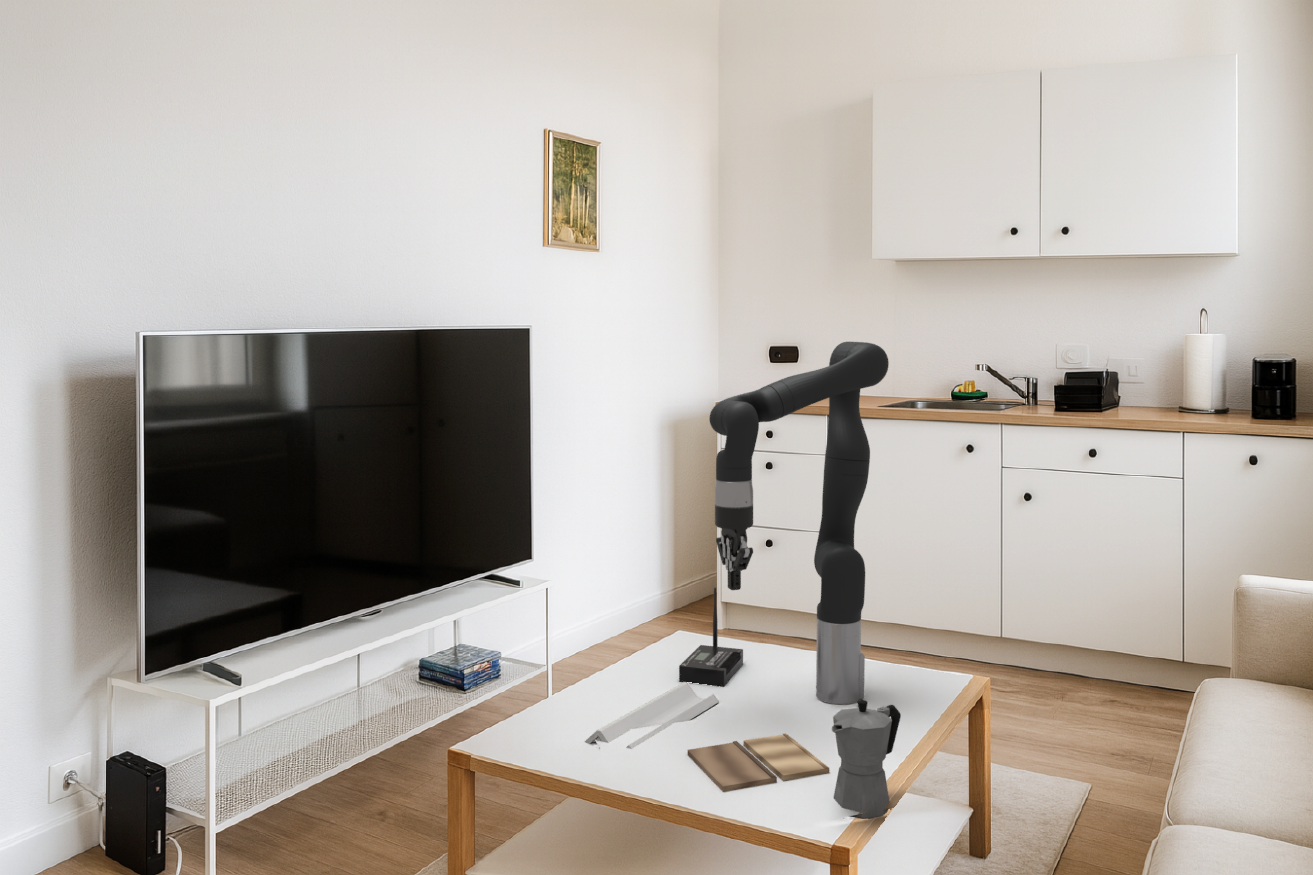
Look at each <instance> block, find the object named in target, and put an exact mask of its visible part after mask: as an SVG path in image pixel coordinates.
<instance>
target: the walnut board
mask: <svg viewBox="0 0 1313 875" xmlns="http://www.w3.org/2000/svg"><path fill="white" fill-rule="evenodd" d="M687 756H688V757H689V758H690V759H691V760H692V761H693V762H694V763H695V764H696V765H697V766H698V767H699V768H700V769H701V771H702V772H703V773H704V774H705V775H706V776H707V777H708V778H709V779H710V780H711V781H712V782H713V783H714V784H715V785H716V786H717V787H718V788H719V789H720V790H721V791H722V792H723V793H725V792H730V791H736V790H741V789H745V788H753V787H757V786H758V787H759V786H763V785H768V784H774V783H775V784H776V783H777V782H778V781H777V780H778V778H777V777H778V776H777V775H776V774H774V773H773V772H772V771H771V770H770V769H769V768H768V767H767V766H766V765H764V764H763V763H762V762H761V761H760V760H759V759H758V758H757V757H756V756H754V755H753V754H752V753H751V752H750V751H749V750H748V749H747V748H745V747H744V746H743V744H741V743H740V742H738V741H737V740H734V741H733V740H732V742H729V743H722V744H715V745H709V746H703V747H696V748H690V749H687Z"/></svg>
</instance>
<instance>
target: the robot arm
mask: <svg viewBox="0 0 1313 875" xmlns="http://www.w3.org/2000/svg"><path fill="white" fill-rule="evenodd" d="M831 352H832V353H831V355H830V358H829V363H828V364H829V365H828V366H825V367H822V368H818V369H814V370H811V371H806V372H802V373H798V374H794V375H790V376H787V377H784V378H781V379H779V380H776V381H774V382H771V383H769V384H767V385H765V386H762V387H761V388H759V389H756V390H753V391H750V392H744V393H742V394H741V393H740V394H737V395H734V396H731V397H727V398H725V399H723V400H721V401H719V402H717V403H716V404H715V405H714V406H713V407H712V409H711V411H710V414H709V420H708V421H709V424H710V426H711V428H712V430H713V431H714V432H715V433H718V434H719V435H722V436H724V437H725V436H726V437H725V438H726V439H725V444H724V448H723V449H721V450H719V451H718V453H717V454H716V460H715V486H714V525H715V526H716V527H717V528H719V529H721V531H720V532H721V534H720V535H721V536H720V537H716V539H715V542H716V546H717V549H718V553H719V556H720V560H721V561H720V562H721V565H723V566H725V569H726V571H727V588H728V589H729V590H731V591H739V590H741V589H742V588H741V587H742V585H741V584H742V581H741V580H742V571H745V570H747V568H748V566H749V563H750V561H751V558H752V557H753V554H754V548H753V547H748V536H747V530H748V529H750V528H751V527H753V526H754V488H753V461H752V460H753V456H754V452H755V448H756V444H757V439H758V434H759V429H760V428H759V427H760V423H768V422H769V423H771V422H774V421H777V420H779V419H781V418H784V417H786V416H789V415H791V414H792V413H795V412H797V411H800V410H802V409H803V408H806V407H808V406H811V405H815V404H816V403H818V402H822V401H825V400H827V399H829V400H828V419H827V434H826V435H827V436H826V437H827V438H826V446H825V452H824V453H825V454H824V455H825V456H824V464H823V465H824V467H823V481H822V497H821V498H822V499H821V500H822V503H821V506H822V507H821V520H820V526H819V531H818V537H817V541H816V545H815V552H814V556H813V565H814V569H815V570H816V573H817V575H818V576H819V577H820V579H821V580H820V582H821V583H820V585H821V586H820V589H821V590H820V601H819V603H818V604H817V606H816V670H815V671H816V676H815V677H816V681H815V684H816V685H815V689H816V690H815V692H816V694H815V696H816V698H817V699H818V700H820V701H822V702H824V703H829V704H834V705H849V704H853V703H856V702H857V701H859V700H864V699H865V670H866V669H865V663H866V660H865V659H866V658H865V654H864V653H862V651H861V650H862V612H863V608H864V604H865V593H866V592H865V590H866V566H865V560H864V558H863V556H862V555H861V553H860V552H859V551H858V550H857V549H855V524H856V519H857V518H856V517H857V513H858V510H859V509H860V508H859V507H860V506H861V503H862V500H863V497H864V494H865V492H866V489H867V486H868V481H869V474H870V462H871V448H870V444H869V439H868V436H867V432H866V430H865V428H864V424H863V420H862V417H861V413H860V412H861V411H860V399H861V398H860V396H861V389H862V390H863V389H866V388H869V387H870V388H871V387H873V386H876V385H878V384H879V383H881V382H882V381H883V379H884V378H885V377H886V375H887V373H888V370H889V363H890V362H889V357H888V355H887V353H886V351H885V350H884V349H883V347H881V346H879V345H878V344H876V343H871V342H864V341H842V342H840V343H839V344H838V345H836V346H835V348H834V349H833V351H831ZM857 703H858V702H857Z"/></svg>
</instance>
